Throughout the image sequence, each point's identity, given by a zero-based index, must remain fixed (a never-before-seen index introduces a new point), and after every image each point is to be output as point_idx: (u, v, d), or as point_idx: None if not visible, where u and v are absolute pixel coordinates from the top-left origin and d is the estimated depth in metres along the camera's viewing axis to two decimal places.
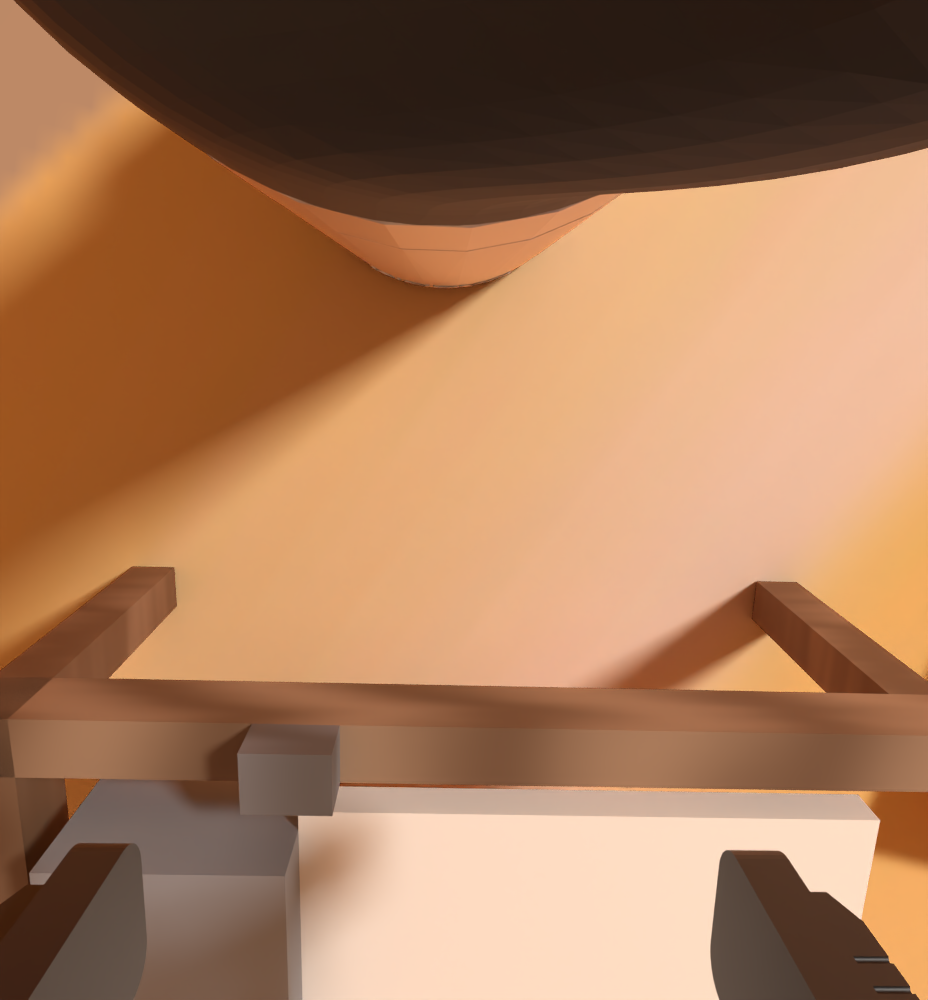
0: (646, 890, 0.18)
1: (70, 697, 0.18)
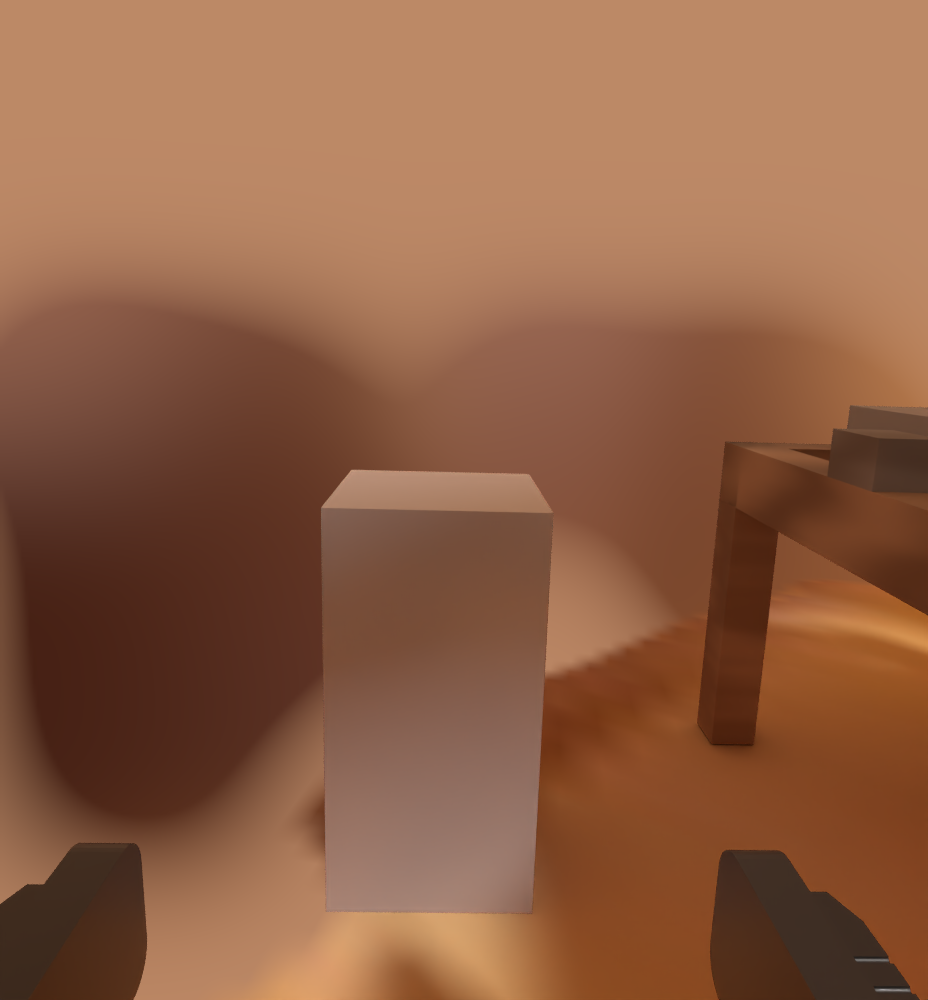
0: None
1: None
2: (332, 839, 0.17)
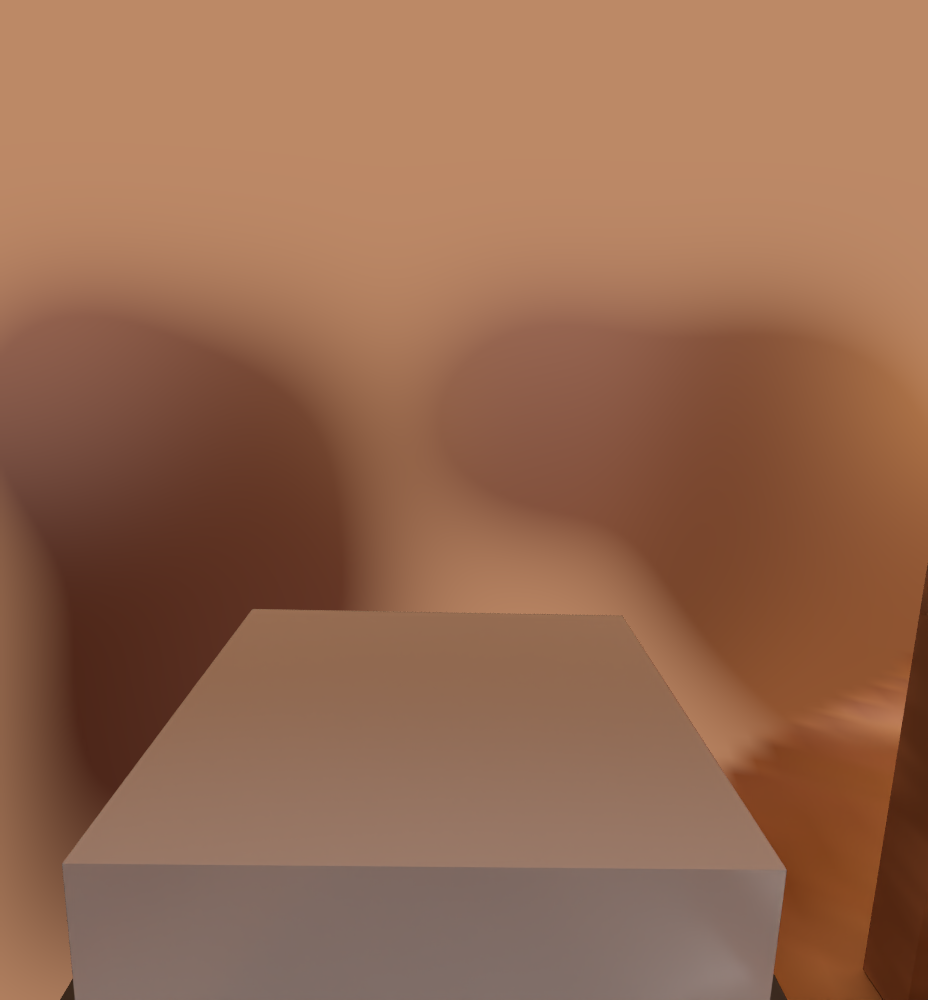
0: None
1: None
2: None
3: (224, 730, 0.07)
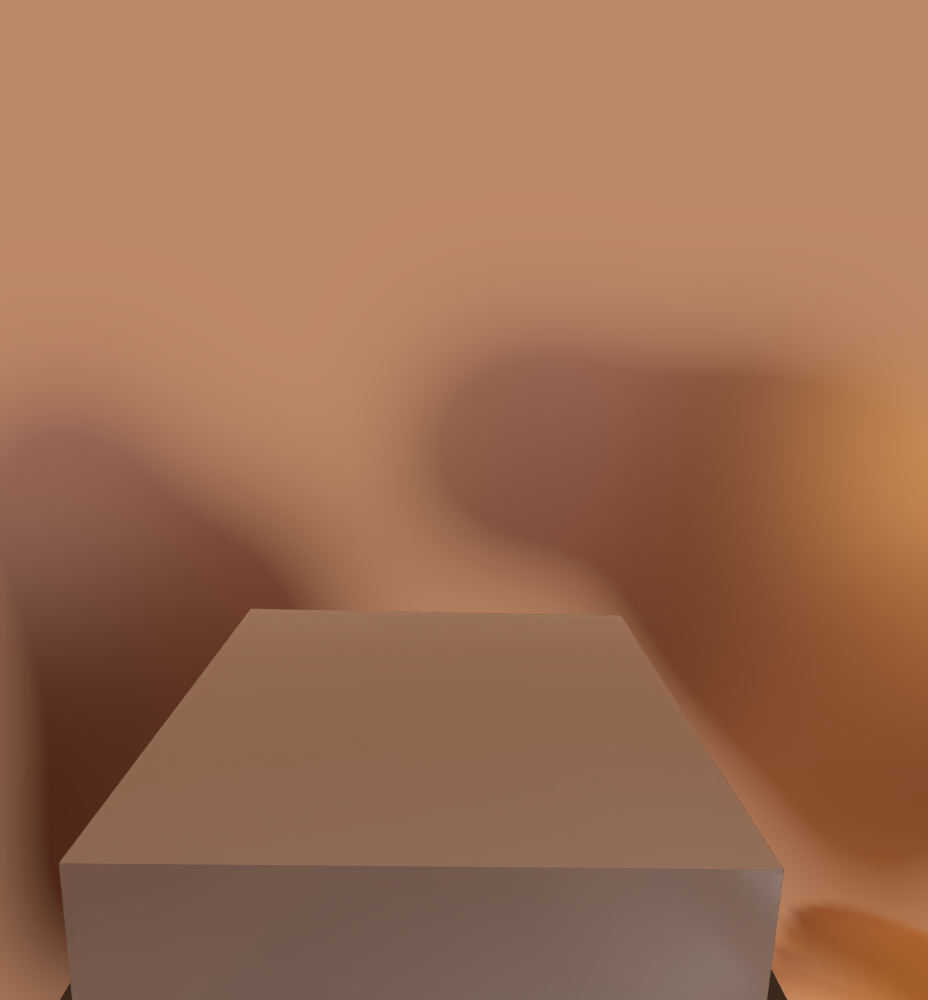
0: None
1: None
2: None
3: (222, 730, 0.07)
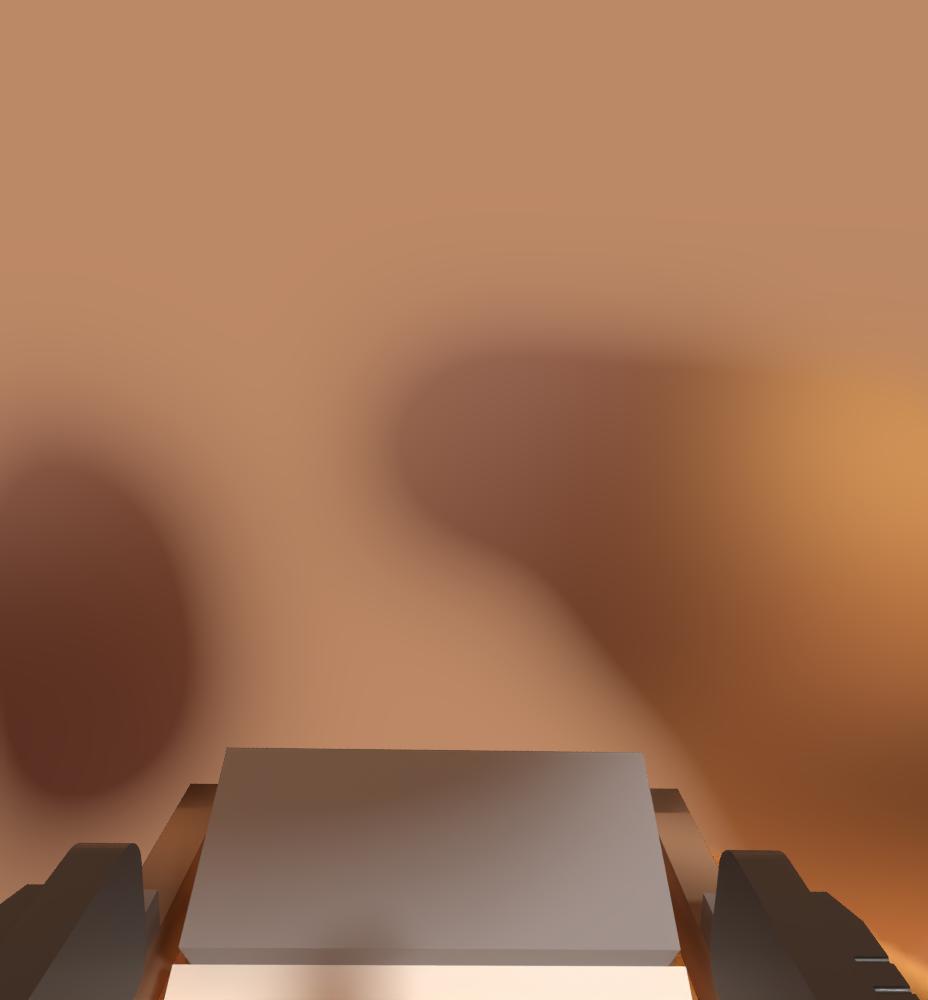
0: None
1: None
2: None
3: None
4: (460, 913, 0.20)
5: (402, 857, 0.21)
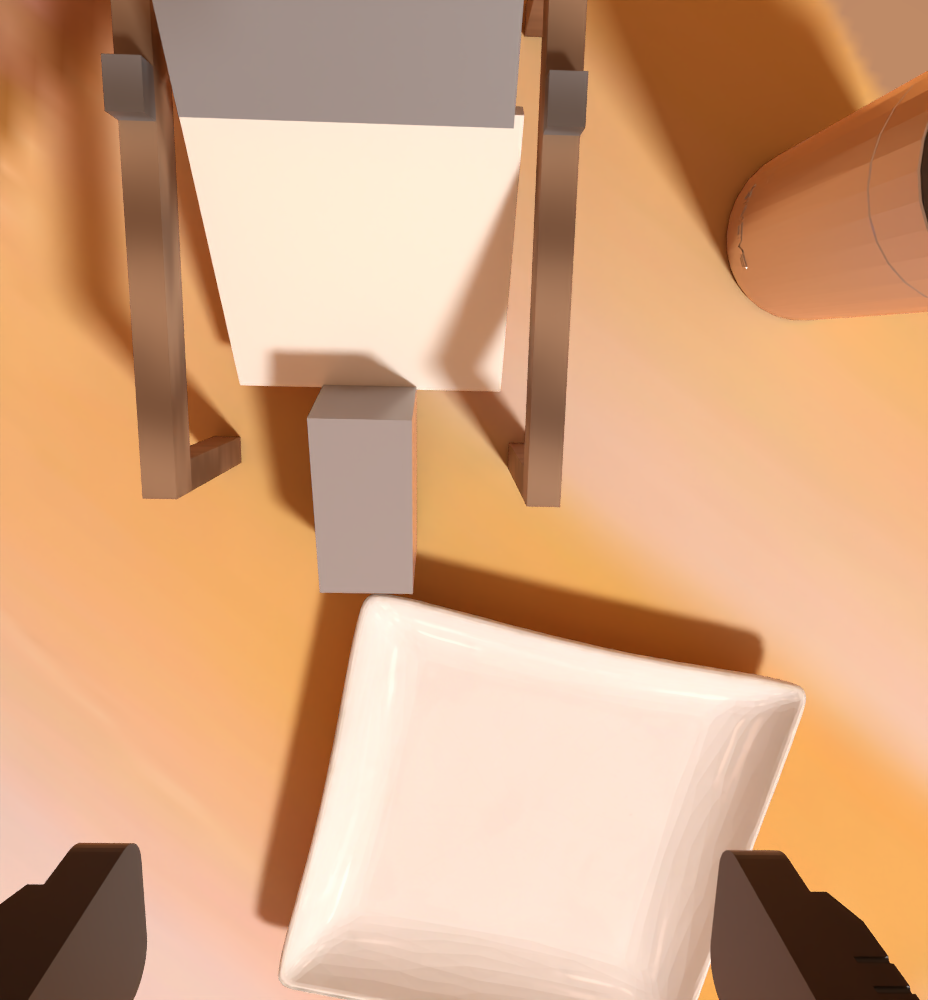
0: (465, 300, 0.36)
1: None
2: None
3: None
4: (364, 100, 0.28)
5: (318, 56, 0.27)
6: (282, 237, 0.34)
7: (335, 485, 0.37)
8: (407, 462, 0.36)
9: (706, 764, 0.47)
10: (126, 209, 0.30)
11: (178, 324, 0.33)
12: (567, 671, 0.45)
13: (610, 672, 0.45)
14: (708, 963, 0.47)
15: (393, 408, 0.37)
